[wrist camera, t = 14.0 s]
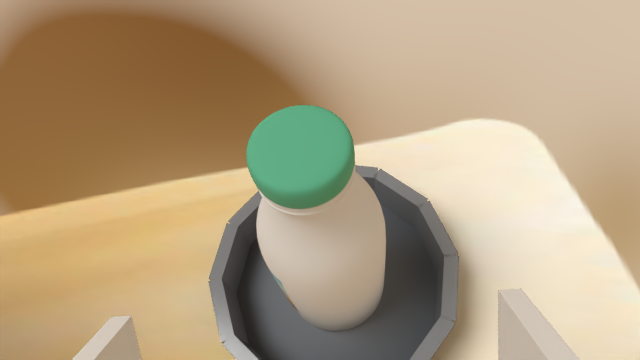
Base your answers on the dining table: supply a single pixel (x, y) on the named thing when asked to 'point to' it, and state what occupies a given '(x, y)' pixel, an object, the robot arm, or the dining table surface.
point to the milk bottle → (317, 217)
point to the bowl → (387, 320)
